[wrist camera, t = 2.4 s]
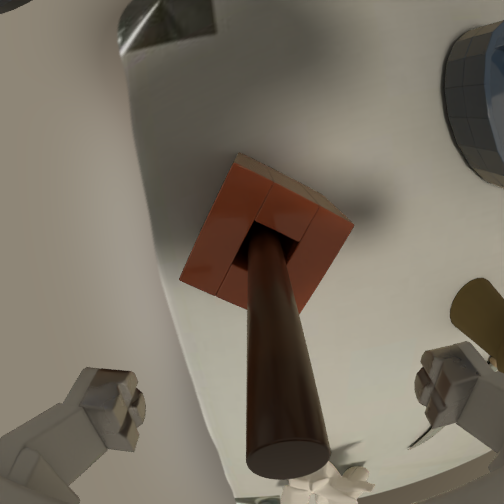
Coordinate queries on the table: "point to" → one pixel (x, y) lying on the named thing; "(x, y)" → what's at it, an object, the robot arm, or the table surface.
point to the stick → (279, 371)
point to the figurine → (328, 486)
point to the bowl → (478, 99)
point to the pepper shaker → (481, 317)
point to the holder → (273, 216)
